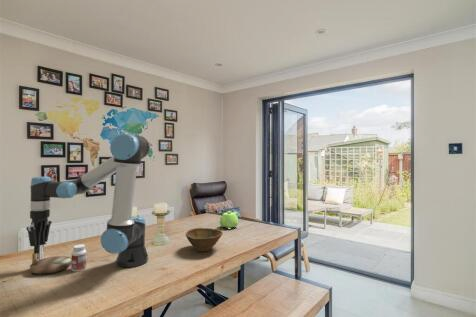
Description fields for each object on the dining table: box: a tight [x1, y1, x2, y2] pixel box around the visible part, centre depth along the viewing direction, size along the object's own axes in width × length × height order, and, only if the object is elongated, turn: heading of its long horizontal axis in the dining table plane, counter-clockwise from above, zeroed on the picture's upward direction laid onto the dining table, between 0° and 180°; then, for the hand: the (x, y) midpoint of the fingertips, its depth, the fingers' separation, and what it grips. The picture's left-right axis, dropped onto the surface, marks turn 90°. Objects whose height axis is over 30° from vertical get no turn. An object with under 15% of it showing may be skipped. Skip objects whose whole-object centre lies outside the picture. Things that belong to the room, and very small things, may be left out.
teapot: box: [219, 210, 239, 229], centre depth 208 cm, size 20×13×13 cm
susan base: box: [42, 269, 64, 275], centre depth 127 cm, size 12×12×1 cm
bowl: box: [185, 227, 224, 252], centre depth 158 cm, size 22×23×10 cm
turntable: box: [29, 252, 71, 275], centre depth 127 cm, size 16×16×7 cm
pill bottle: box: [70, 243, 87, 272], centre depth 127 cm, size 6×6×11 cm
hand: (38, 259), depth 126 cm, fingers closed
